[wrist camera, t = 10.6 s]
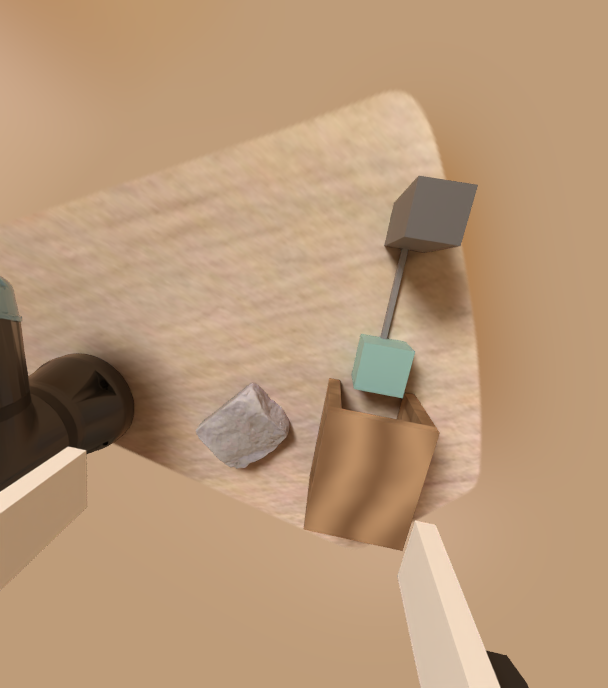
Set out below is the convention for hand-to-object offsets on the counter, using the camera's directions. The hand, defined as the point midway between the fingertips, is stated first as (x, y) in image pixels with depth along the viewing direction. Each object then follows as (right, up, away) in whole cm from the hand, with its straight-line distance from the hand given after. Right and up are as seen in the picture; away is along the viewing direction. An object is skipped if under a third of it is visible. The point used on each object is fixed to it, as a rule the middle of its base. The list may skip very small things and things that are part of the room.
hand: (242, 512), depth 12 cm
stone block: (-6, -5, +34) cm, 35 cm away
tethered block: (+14, +12, +27) cm, 33 cm away
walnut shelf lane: (+11, -7, +32) cm, 35 cm away
